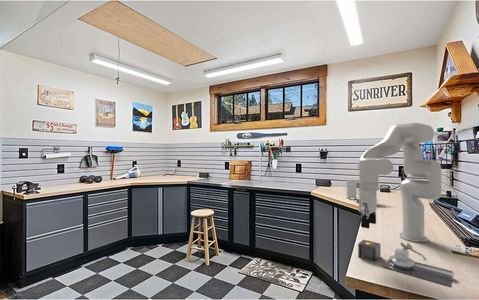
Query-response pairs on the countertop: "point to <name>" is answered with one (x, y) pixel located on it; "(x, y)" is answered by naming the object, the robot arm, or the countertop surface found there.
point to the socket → (369, 250)
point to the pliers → (410, 248)
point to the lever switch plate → (418, 268)
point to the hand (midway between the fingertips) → (368, 225)
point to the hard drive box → (351, 187)
